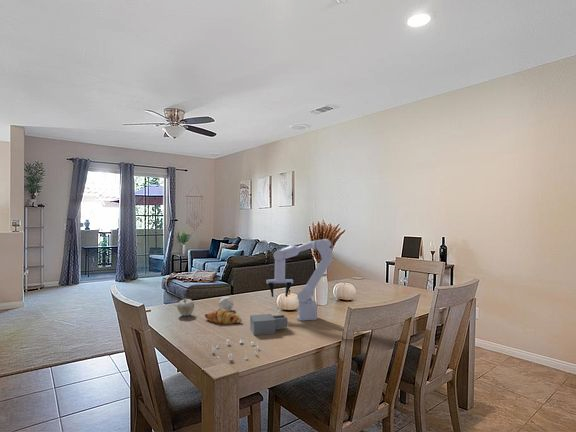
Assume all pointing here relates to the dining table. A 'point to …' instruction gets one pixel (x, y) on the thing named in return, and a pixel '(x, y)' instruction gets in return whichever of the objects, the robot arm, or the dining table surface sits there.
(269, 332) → the grey stepped block
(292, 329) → the dining table surface
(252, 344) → the game piece set
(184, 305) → the decorative object
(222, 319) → the croissant
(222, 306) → the die
